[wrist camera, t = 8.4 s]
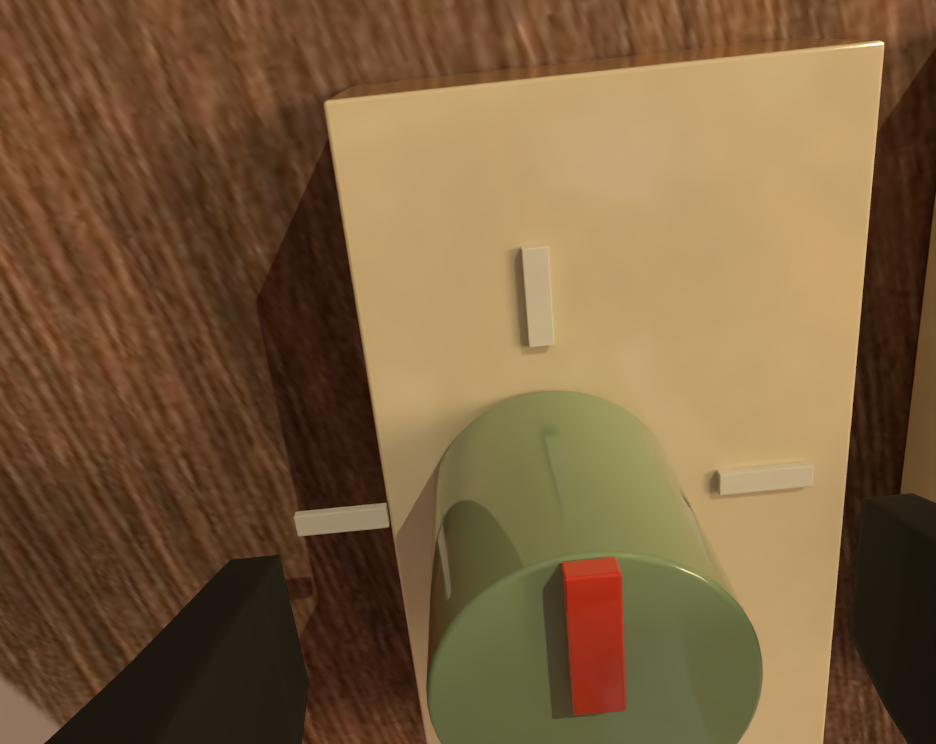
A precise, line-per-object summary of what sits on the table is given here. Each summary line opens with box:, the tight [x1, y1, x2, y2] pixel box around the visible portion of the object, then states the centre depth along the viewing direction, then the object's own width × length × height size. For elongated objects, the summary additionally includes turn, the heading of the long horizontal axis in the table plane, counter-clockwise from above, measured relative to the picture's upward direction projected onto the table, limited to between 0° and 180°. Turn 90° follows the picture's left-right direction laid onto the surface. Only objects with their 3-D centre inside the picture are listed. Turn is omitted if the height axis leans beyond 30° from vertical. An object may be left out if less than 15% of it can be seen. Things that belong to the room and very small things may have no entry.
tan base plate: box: [294, 39, 884, 744], centre depth 14 cm, size 12×8×3 cm
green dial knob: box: [426, 391, 763, 744], centre depth 10 cm, size 4×4×4 cm
